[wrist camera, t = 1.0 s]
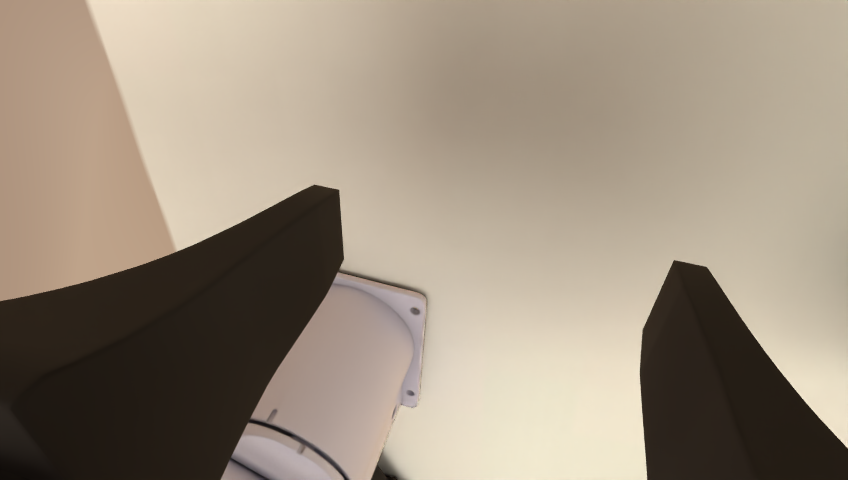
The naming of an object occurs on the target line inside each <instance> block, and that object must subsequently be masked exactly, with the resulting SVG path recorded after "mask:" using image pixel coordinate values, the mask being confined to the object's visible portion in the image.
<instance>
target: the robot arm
mask: <svg viewBox="0 0 848 480" xmlns="http://www.w3.org/2000/svg"><path fill="white" fill-rule="evenodd" d="M343 260H344V253H343V239H342V225H341V211H340V197H339V190H337V189H332V188H327V187H323V186H318V185H313V186H311V187H309V188H306V189H304V190H302V191H300V192H298V193H296V194H294V195H292V196H291V197H289V198H287V199H285V200H283V201H281V202H279V203H277V204H276V205H274V206H272V207H270V208H268V209H266V210H264V211H262V212H260V213H258V214H256V215H255V216H253V217H251V218H249V219H247V220H245V221H243V222H241V223H239V224H237V225H235V226H233V227H231V228H229V229H227V230H224V231H222V232H220V233H218V234H216V235H214V236H212V237H210V238H207V239H205V240H203V241H201V242H199V243H197V244H194V245H192V246H190V247H187V248H185V249H183V250H180V251H178V252H175V253H173V254H170V255H168V256H165V257H162V258H159V259H157V260H154V261H151V262H149V263H146V264H143V265H140V266H137V267H134V268H131V269H127V270H124V271H121V272H118V273H114V274H111V275H108V276H105V277H101V278H98V279H95V280H92V281H88V282H84V283H80V284H77V285H72V286H69V287H65V288H61V289H56V290H53V291H48V292H43V293H39V294H34V295H30V296H25V297H20V298H16V299H11V300H5V301H0V480H371V478H372V475H373V473H374V470H375V468H376V465H377V463H378V460H379V458H380V455H381V453H382V450H383V448H384V445H385V442H386V440H387V437H388V435H389V432H390V430H391V427H392V425H393V422H394V420H395V417H396V415H397V412H398V410H399V407H400V405H404V406H407V407H412V408H413V407H416V406H417V405H418V402H419V397H420V384H421V371H422V358H423V345H424V332H425V320H426V307H427V300H426V298H425V297H424V296H423V295H422V294H420V293H417V292H413V291H409V290H405V289H402V288H398V287H394V286H390V285H386V284H382V283H378V282H374V281H370V280H366V279H362V278H358V277H354V276H350V275H347V274H343V273H339V272H338V271H339V268H340V266H341V264H342V262H343ZM415 308H417V309H418V310H417V309H415ZM640 384H641V399H642V413H643V426H644V439H645V453H646V466H647V480H848V448H847V447H846V446H845V445H844V444H843V443H842V442H841V441H840V440H839V439H838V438H837V437H836V436H835V434H834V433H833V432H832V431H831V430H830V429H829V428H828V427H827V426H826V425H825V424H824V423H823V422H822V421H821V419H820V418H819V417H818V416H817V415H816V414H815V413H814V412H813V410H812V409H811V408H810V407H809V406H808V405H807V404H806V402H805V401H804V400H803V399H802V398H801V397H800V395H799V394H798V393H797V392H796V390H795V389H794V388H793V387H792V385H791V384H790V383H789V382H788V381H787V379H786V378H785V377H784V376H783V374H782V373H781V372H780V371H779V369H778V368H777V367H776V365H775V364H774V363H773V362H772V360H771V359H770V358H769V356H768V355H767V354H766V352H765V351H764V350H763V348H762V347H761V346H760V344H759V343H758V341H757V340H756V339H755V337H754V336H753V334H752V333H751V332H750V330H749V329H748V327H747V326H746V325H745V323H744V322H743V320H742V319H741V317H740V316H739V314H738V313H737V311H736V310H735V308H734V307H733V305H732V304H731V302H730V301H729V300H728V298H727V296H726V295H725V293H724V292H723V290H722V289H721V287H720V286H719V284H718V283H717V281H716V280H715V278H714V277H713V275H712V274H711V272H710V271H709V270H708V268H707V267H704V266H699V265H695V264H690V263H685V262H680V261H675V260H674V261H673V263H672V266H671V268H670V270H669V272H668V275H667V277H666V279H665V281H664V284H663V286H662V288H661V290H660V293H659V295H658V297H657V299H656V302H655V304H654V306H653V308H652V310H651V313H650V315H649V317H648V319H647V322H646V324H645V326H644V328H643V334H642V347H641V363H640Z"/></svg>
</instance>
